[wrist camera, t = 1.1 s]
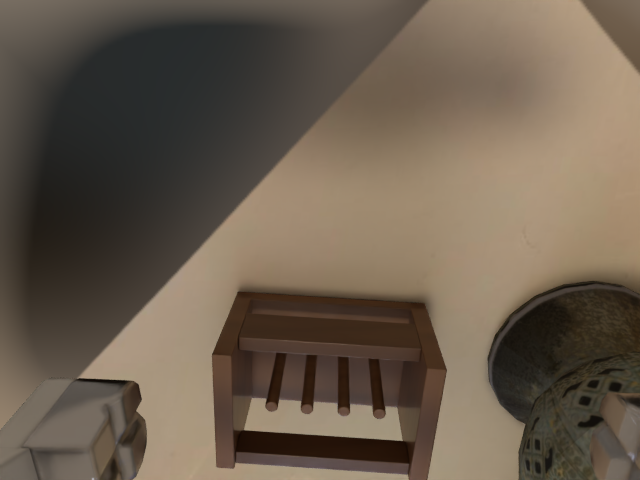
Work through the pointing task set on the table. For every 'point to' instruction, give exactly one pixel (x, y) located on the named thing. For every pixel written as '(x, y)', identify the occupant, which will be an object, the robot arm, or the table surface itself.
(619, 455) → the robot arm
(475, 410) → the table surface
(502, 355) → the lantern
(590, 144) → the table surface
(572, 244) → the table surface
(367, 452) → the rack
